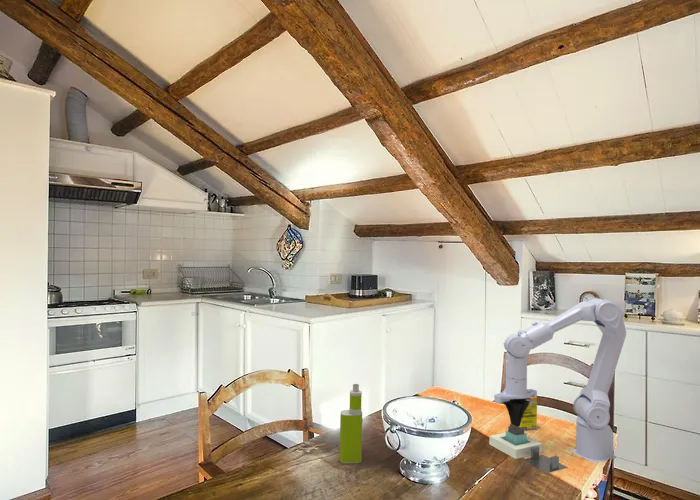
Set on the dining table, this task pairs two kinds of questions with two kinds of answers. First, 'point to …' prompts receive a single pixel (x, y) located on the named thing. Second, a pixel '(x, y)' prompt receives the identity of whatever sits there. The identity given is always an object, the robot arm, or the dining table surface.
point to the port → (513, 446)
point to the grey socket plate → (543, 461)
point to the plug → (516, 435)
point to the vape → (351, 429)
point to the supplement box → (529, 415)
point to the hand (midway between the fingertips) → (515, 424)
